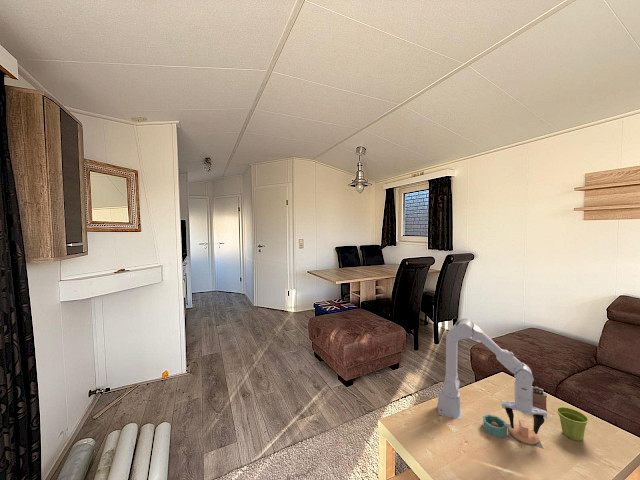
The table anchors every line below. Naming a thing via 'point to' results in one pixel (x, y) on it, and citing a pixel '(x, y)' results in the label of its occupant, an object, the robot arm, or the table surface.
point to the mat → (522, 442)
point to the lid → (524, 433)
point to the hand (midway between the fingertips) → (523, 429)
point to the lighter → (539, 398)
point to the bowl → (494, 430)
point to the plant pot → (572, 423)
